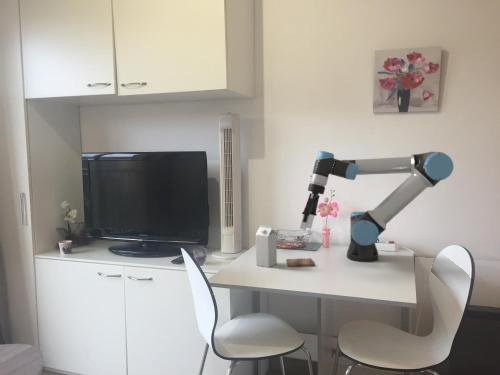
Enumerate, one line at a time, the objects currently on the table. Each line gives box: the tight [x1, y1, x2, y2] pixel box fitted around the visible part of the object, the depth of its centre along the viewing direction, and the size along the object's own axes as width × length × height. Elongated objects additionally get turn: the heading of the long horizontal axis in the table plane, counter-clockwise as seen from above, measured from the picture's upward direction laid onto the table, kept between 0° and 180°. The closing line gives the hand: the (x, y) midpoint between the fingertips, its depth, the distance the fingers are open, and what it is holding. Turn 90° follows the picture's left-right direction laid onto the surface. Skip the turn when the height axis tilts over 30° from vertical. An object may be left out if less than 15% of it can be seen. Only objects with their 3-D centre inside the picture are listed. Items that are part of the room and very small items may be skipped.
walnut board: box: [285, 257, 315, 268], centre depth 200 cm, size 12×10×1 cm
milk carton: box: [255, 224, 278, 268], centre depth 198 cm, size 7×7×19 cm
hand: (305, 228), depth 194 cm, fingers open, 13 cm apart
